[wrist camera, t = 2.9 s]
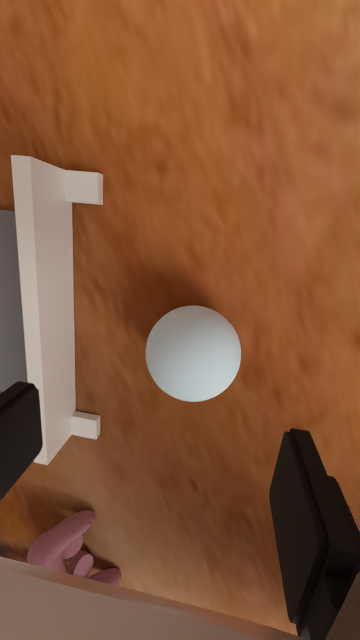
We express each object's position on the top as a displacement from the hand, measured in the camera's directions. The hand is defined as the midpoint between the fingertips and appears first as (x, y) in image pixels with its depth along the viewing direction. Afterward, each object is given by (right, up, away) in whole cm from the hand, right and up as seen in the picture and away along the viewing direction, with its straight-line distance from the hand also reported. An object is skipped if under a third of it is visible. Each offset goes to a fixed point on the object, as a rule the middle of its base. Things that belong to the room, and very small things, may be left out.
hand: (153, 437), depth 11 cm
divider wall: (-8, +5, +13) cm, 16 cm away
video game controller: (-9, -20, +21) cm, 30 cm away
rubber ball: (+2, +3, +12) cm, 12 cm away
